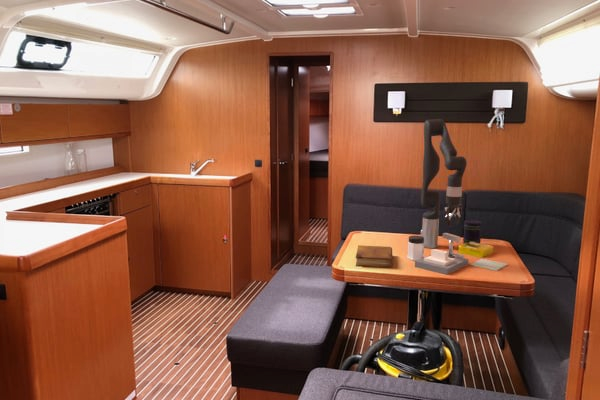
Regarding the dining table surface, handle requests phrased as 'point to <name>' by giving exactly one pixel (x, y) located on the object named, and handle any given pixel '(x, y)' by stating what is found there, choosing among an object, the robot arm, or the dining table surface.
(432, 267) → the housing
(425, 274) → the dining table surface
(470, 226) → the storage jar
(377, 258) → the diary
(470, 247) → the element tile
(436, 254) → the cover
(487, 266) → the mat
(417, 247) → the jar
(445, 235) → the t key
